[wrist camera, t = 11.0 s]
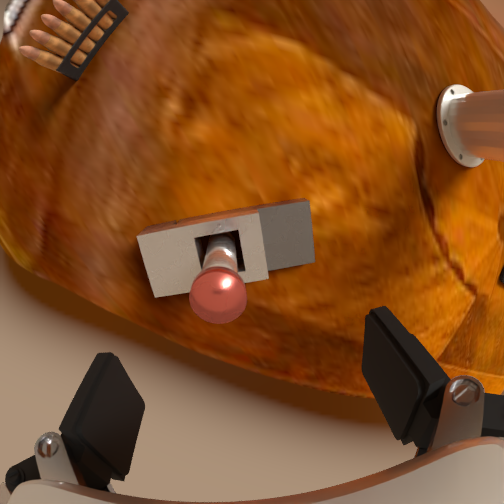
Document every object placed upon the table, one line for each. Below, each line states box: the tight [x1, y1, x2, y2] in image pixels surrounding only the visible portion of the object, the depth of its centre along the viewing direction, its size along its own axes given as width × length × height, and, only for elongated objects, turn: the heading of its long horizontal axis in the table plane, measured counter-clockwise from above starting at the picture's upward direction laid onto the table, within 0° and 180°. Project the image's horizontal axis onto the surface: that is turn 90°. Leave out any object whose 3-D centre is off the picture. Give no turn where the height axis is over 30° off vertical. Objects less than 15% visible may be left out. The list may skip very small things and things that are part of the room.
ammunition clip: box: [19, 0, 128, 81], centre depth 16 cm, size 11×2×12 cm, turn 145°
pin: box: [189, 232, 247, 324], centre depth 25 cm, size 4×4×13 cm
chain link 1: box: [137, 209, 269, 297], centre depth 29 cm, size 12×7×4 cm, turn 99°
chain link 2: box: [177, 198, 315, 271], centre depth 31 cm, size 14×7×2 cm, turn 99°
